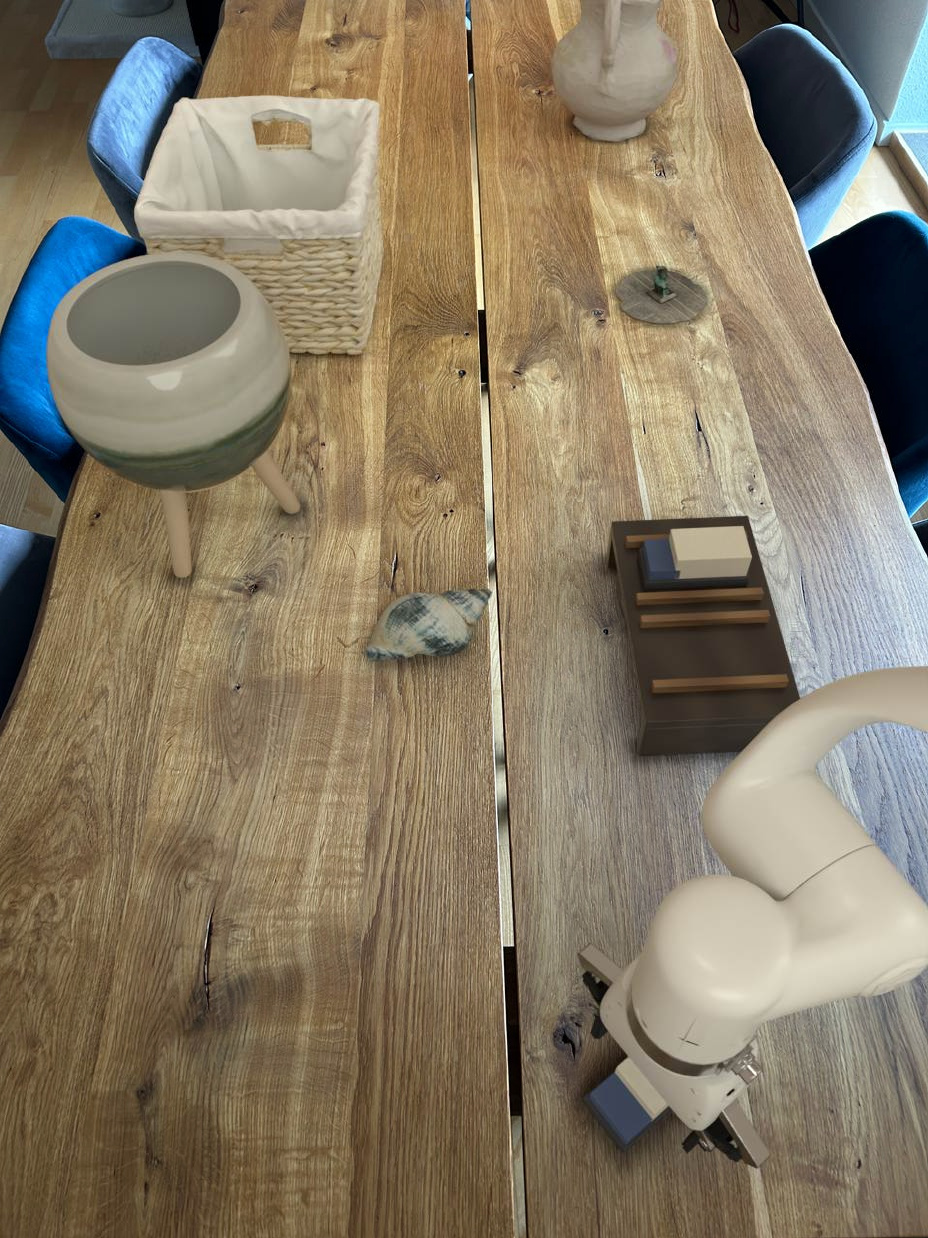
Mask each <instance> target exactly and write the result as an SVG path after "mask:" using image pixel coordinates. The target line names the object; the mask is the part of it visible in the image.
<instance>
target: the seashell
mask: <svg viewBox="0 0 928 1238" xmlns="http://www.w3.org/2000/svg"><path fill="white" fill-rule="evenodd" d="M492 594H493V591H492V590H490V589H489V588H485V589H484V588H482V589H477V588H468V589H466V590H464V589H458V590H456V589H452V590H446V591H443V592H442V593H440V594H437V593H433V592H413V593H407V594H404V595H401V596H399V597H397V598H395V599H394V600H393V601H392V602H391V603H389V604H388V606H387V607H386V608H385V609H384V610H383V612H382V614H381V615H380V617H379V618H378V620H377V622H376V624H375V626H374V628H373V630H372V632H371V637H370V643H369V645H367V647H365V649H364V651H365V656H366V658H367V659H368V660H369V661H371V662H375V663H376V662H380V661H385V660H387V659H388V660H405V659H408V658H412V657H414V656H415V655H417V654H420V655H426V656H431V657H438V658H444V657H451V656H454V655H457V654H459V653H460V652H462V651H463V650H464V649H466V647H467V646H468V644H469V643H470V641H471V638H472V636H473V632H474V627H475V624H476V623H478V622H479V621H480V619H481V618H482V617H483V614H484V612H485V608H486V607H487V605H488V603H489V599H490V598H491V596H492Z"/></svg>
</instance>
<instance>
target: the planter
mask: <svg viewBox="0 0 928 1238" xmlns="http://www.w3.org/2000/svg"><path fill="white" fill-rule="evenodd" d="M49 323H50V324H49V327H48V331H47V332H48V333H47V339H46V350H45V351H46V352H45V361H46V363H45V364H46V372H47V373H46V375H47V379H48V384H49V388H50V392H51V396H52V399H53V401H54V404H55V407H56V409H57V411H58V414H59V415H60V418H61V419H62V421H63V423H64V425H65V426H66V429H68V431H69V433H70V434H71V436H72V437H73V438H74V440H75V441H76V443H78V445H79V446H80V447H81V448H82V449H83V450H84V451H85V452H86V453H87V454H88V455H89V456H90V457H92V459H93V460H95V461H96V462H97V463H98V464H99V465H101V466H102V467H103V468H104V469H106V470H108V471H109V472H110V473H113V474H114V475H116V476H118V477H120V478H122V479H124V480H125V481H127V482H129V483H133V484H135V485H138V486H141V487H144V488H148V489H152V490H158V491H159V494H160V495H159V496H160V500H161V501H160V502H161V506H162V512H163V517H164V524H165V529H166V535H167V542H168V550H169V554H170V562H171V567H172V571H173V575H175V577H177V578H179V579H184V578H187V577H189V576H190V575H191V573H192V571H193V566H192V564H193V563H192V553H191V551H192V550H191V549H192V548H191V535H190V520H189V508H188V497H187V493H191V494H192V493H199V492H200V493H201V492H205V491H210V490H213V489H216V488H219V487H222V486H224V485H227V484H228V483H230V482H232V481H234V480H235V479H237V478H239V477H240V476H241V475H243V474H244V473H245V472H246V471H247V470H249V468H252V470H253V471H254V472H255V474H256V475H257V477H258V478H259V480H260V481H261V482H262V484H263V485H264V486H265V488H266V489H267V490H268V492H269V493H270V494H271V495H272V496H273V498H274V500H276V501H277V503H278V505H279V506H280V507H281V509H282V510H283V511H284V512H285V513H287V514H289V515H293V514H294V515H295V514H297V513H298V512H299V511H300V510H301V504H300V501H299V500H298V498H297V496H296V494H295V492H294V491H293V489H292V487H291V486H290V484H289V483H288V480H286V478H285V476H284V475H283V473H282V472H281V470H280V468H279V467H278V465H277V463H276V462H275V460H274V458H273V456H272V455H271V453H270V452H269V448H270V447H271V445H272V444H273V443H274V441H275V439H276V438H277V436H278V434H279V433H280V431H281V429H282V426H283V424H284V421H285V419H286V417H287V413H288V410H289V405H290V401H291V394H292V383H293V372H292V371H293V370H292V362H291V361H292V360H291V355H290V352H289V349H288V344H287V341H286V338H285V335H284V332H283V329H282V327H281V324H280V322H279V320H278V318H277V316H276V314H275V312H274V310H273V309H272V307H271V305H270V304H269V302H268V301H267V299H266V298H265V297H264V295H263V294H262V293H261V291H260V290H259V289H258V288H257V287H256V286H255V284H254V283H253V282H252V281H251V280H250V279H249V278H248V277H247V276H245V275H244V274H243V273H242V272H241V271H239V270H238V269H236V268H235V267H233V266H232V265H230V264H228V263H226V262H224V261H221V260H219V259H216V258H212V257H209V256H204V255H199V254H192V253H158V254H150V255H149V254H144V255H139V256H135V257H132V258H130V257H129V258H128V259H127V258H126V259H123V260H120V261H117V262H115V263H111V264H110V265H108V266H105V267H102V268H101V269H99V270H97V271H95V272H93V273H91V274H90V275H88V276H86V277H85V278H83V279H82V280H81V281H79V282H78V283H77V284H75V285H74V286H73V287H71V289H70V290H69V291H68V292H67V293H66V294H65V295H64V296H63V297H62V298H61V300H60V302H58V304H57V306H56V308H55V310H54V311H53V314H52V317H51V319H50V322H49Z"/></svg>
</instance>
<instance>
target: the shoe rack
mask: <svg viewBox="0 0 928 1238" xmlns="http://www.w3.org/2000/svg"><path fill="white" fill-rule="evenodd" d="M732 526H743V527H744V530H745V534H746V538H747V541H748V545H749V548H750V552H751V555H752V559H751V562H750V565H749V568H748V574H749V577H750V579H749V582H748V585H747V586H732V587H709V588H686V589H663V590H644V586H643V581H642V576H641V570H640V565H639V560H638V551H639V548H643V544H644V540H656V539H669V536H670V531H671V529H686V528H709V527H732ZM607 542H608V543H607V552H606V558H605V561H606V562H605V563H606V567H607V569H614V568H615V569H616V570H617V577H618V582H619V583H618V584H619V588H620V594H621V599H622V605H623V612H624V617H625V624H626V628H627V634H628V641H629V646H630V652H631V658H632V659H631V660H632V664H633V671H634V676H635V681H636V687H637V694H638V699H639V705H640V710H641V717H642V719H641V723H640V728H639V733H638V737H637V742H636V750H637V756H638V757H651V756H672V755H675V756H676V755H691V754H692V755H696V754H718V753H741V752H742V751H743V750H744V749H745V748H746V746H747V745H748V744H749V743H750V742H751V741H752V740H753V739H754V738H755V737H756V736H757V735H758V734H759V733H760V732H761V731H762V730H763V729H764V728H765V727H766V726H767V725H768V724H769V723H770V722H771V721H772V720H773V719H774V718H775V717H776V716H777V715H778V714H780V713H781V712H782V711H783V710H785V709H786V708H787V707H789V706H790V705H791V704H793V703H794V702H796V701H798V700H799V699H801V696H800V692H799V689H798V685H797V682H796V680H795V679H796V678H795V675H794V671H793V667H792V665H791V661H790V657H789V654H788V651H787V648H786V644H785V641H784V636H783V633H782V630H781V627H780V626H781V625H780V622H779V620H778V615H777V612H776V608H775V605H774V601H773V598H772V595H771V592H770V588H769V584H768V581H767V577H766V574H765V571H764V567H763V564H762V559H761V556H760V553H759V550H758V546H757V542H756V539H755V535H754V531H753V528H752V525H751V521H750V518H749V515H732V516H730V515H728V516H707V517H685V518H663V519H661V518H660V519H658V518H657V519H640V520H639V519H638V520H614V521H611V522H610V528H609V535H608V541H607Z"/></svg>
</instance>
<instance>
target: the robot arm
mask: <svg viewBox="0 0 928 1238" xmlns="http://www.w3.org/2000/svg"><path fill="white" fill-rule="evenodd" d="M881 723H889V724H896V725H901V726H905V727H909V728H912V729H915V730H917V731H919V732H923V733H926V734H928V665H915V666H914V665H913V666H895V667H885V668H878V669H872V670H868V671H862V672H858V673H855V674H851V675H848V676H844V677H841V678H839V679H836V680H834V681H832V682H829V683H827V684H824V685H822V686H821V687H819V688H817V689H814V690H813V691H811V692H809V693H807V694H805V695H804V696H802V697H800V699H799V700H798V701H796V702H794V703H793V704H791V705H790V706H789V707H787V708H786V709H785V710H783V711H782V712H781V713H780V714H778V715H777V716H776V717H775V718H774V719H773V720H772V721H771V722H770V723H769V724H768V725H767V726H766V727H765V728H764V729H763V730H762V731H761V732H760V733H759V734H758V735H757V736H756V737H755V738H754V739H753V740H752V741H751V742H750V743H749V744H748V745H747V746H746V748H745V749H744V750H743V751H742V752H739V753H738V755H736V757H735V758H734V759H733V760H732V761H731V762H730V763H729V764H728V766H726V768H724V770H723V771H722V772H721V774H720V775H719V776H718V777H717V778H716V780H715V781H714V783H713V784H712V785H711V786H710V788H709V790H708V791H707V793H706V795H705V797H704V800H703V802H702V806H701V815H700V816H701V826H702V829H703V832H704V835H705V837H706V839H707V841H708V844H709V845H710V846H711V847H712V849H713V850H714V852H715V854H716V855H717V857H718V858H719V859H720V861H721V862H722V863H723V865H724V867H725V868H726V869H727V871H728V873H730V875H728V874H724V873H723V874H722V873H718V874H717V873H712V874H709V873H708V874H704V875H699V876H695V877H692V878H690V879H687V880H684V881H683V882H681V883H680V884H679V885H677V886H675V887H674V888H673V889H671V890H670V891H669V893H667V894H666V896H665V897H664V899H663V900H662V901H661V903H660V904H659V906H658V908H657V910H656V912H655V914H654V916H653V917H652V920H651V924H650V927H649V930H648V933H647V935H646V938H645V940H644V943H643V946H642V949H641V952H640V953H639V954H638V955H636V957H635V958H634V959H632V961H631V962H630V963H629V964H628V965H627V966H626V967H625V968H622V967H620V965H618V964H617V963H616V962H615V961H613V959H611V958H610V957H609V956H608V955H606V954H605V953H604V952H603V951H602V950H601V949H600V948H598V947H597V946H596V945H595V944H593V942H589V943H588V944H586V945H585V946H584V947H583V948H582V949H580V950H579V951H578V952H576V953H577V954H576V955H577V959H578V961H579V963H580V967H581V969H582V970H583V971H584V972H583V974H582V975H581V977H582V982H583V984H584V985H585V987H587V989H588V991H589V993H590V995H591V997H592V999H591V1000H590V1001H588V1006H589V1008H590V1010H591V1011H592V1016H593V1017H594V1019H593V1022H592V1025H591V1029H590V1032H589V1033H590V1036H592V1038H593V1039H594V1040H595V1039H596V1040H598V1041H599V1040H600V1039H601V1038H602V1037H603V1036H604V1035H606V1034H607V1033H609V1034H610V1035H611V1037H612V1038H613V1039H614V1040H615V1042H616V1043H617V1044H618V1046H619V1047H620V1049H622V1050H623V1052H624V1053H625V1054H626V1055H627V1057H629V1058H630V1059H631V1060H632V1062H633V1063H634V1064H635V1065H636V1066H637V1068H638V1069H639V1070H640V1071H641V1073H642V1074H643V1075H644V1076H645V1077H646V1079H647V1080H648V1081H649V1082H650V1084H651V1085H652V1086H653V1087H654V1088H655V1090H656V1091H657V1092H658V1093H659V1095H660V1096H661V1097H662V1098H663V1099H664V1101H665V1102H666V1103H667V1104H668V1105H669V1107H670V1108H671V1109H672V1110H671V1111H672V1112H673V1113H674V1114H675V1115H676V1116H677V1117H678V1119H680V1120H681V1122H682V1123H683V1124H685V1126H686V1127H688V1128H689V1129H691V1130H692V1131H691V1132H690V1133H688V1135H687V1136H686V1137H685V1139H684V1140H683V1141H682V1142H681V1145H682V1147H681V1148H682V1149H683V1151H684V1152H685V1153H686V1155H688V1154H689V1153H690V1152H691V1151H693V1149H695V1148H696V1147H697V1146H699V1148H701V1149H702V1151H703V1152H704V1153H706V1152H708V1153H712V1152H713V1151H714V1150H715V1149H717V1150H719V1151H720V1152H721V1153H723V1154H724V1155H725V1156H726V1157H727V1159H728V1160H729V1161H733V1162H735V1163H739V1162H740V1161H742V1162H743V1163H744V1164H746V1165H747V1166H750V1167H751V1168H754V1169H756V1170H757V1169H759V1168H760V1167H761V1166H762V1165H763V1164H764V1163H766V1161H767V1160H768V1159H769V1158H771V1152H770V1150H769V1149H768V1147H767V1146H766V1144H765V1143H764V1141H763V1139H762V1138H761V1137H760V1135H759V1133H758V1132H757V1130H756V1128H755V1127H754V1125H753V1124H752V1123H751V1121H750V1119H749V1118H748V1116H747V1115H746V1113H745V1112H744V1110H743V1108H742V1107H741V1106H740V1104H739V1102H738V1101H739V1099H740V1098H741V1097H742V1096H743V1095H744V1093H745V1092H746V1091H747V1089H749V1086H750V1085H751V1083H752V1082H753V1081H754V1080H755V1079H756V1078H757V1077H758V1076H759V1075H760V1074H761V1073H762V1072H763V1071H764V1068H763V1067H762V1066H761V1065H760V1064H759V1062H758V1060H759V1046H758V1041H757V1039H756V1038H757V1037H758V1036H757V1035H756V1034H757V1032H758V1031H759V1030H760V1028H761V1027H762V1026H763V1024H764V1023H767V1022H770V1021H774V1020H776V1019H779V1018H782V1017H786V1016H788V1015H791V1014H796V1013H799V1012H803V1011H807V1010H809V1009H810V1010H811V1009H813V1008H817V1007H819V1006H820V1007H821V1006H822V1005H823V1006H825V1005H828V1004H830V1003H831V1004H832V1003H835V1002H839V1001H842V1000H846V999H850V998H853V997H857V996H860V997H861V998H862V997H863V998H872V997H876V996H880V995H883V994H887V993H889V992H891V991H894V990H896V989H899V988H900V987H902V986H904V985H906V984H908V983H909V982H910V981H913V980H914V979H915V978H916V977H918V976H919V975H920V974H921V973H922V972H924V970H926V968H927V967H928V905H927V903H926V902H925V900H923V898H922V897H921V896H920V894H918V892H917V890H915V888H913V885H911V883H909V881H908V880H907V878H905V877H904V875H903V874H902V873H901V872H900V871H899V869H898V868H897V867H896V866H895V865H894V863H893V862H892V861H891V860H890V859H889V858H888V857H887V855H886V854H885V852H883V851H882V849H881V848H880V847H879V845H878V844H877V843H876V842H875V840H874V839H873V838H872V837H871V836H870V835H869V833H868V832H867V831H866V830H865V829H864V828H863V826H862V824H860V822H859V821H858V820H857V819H856V818H855V817H854V815H853V814H852V813H851V812H850V811H849V809H848V808H847V807H846V806H845V805H844V804H843V802H842V801H841V799H839V798H838V797H837V795H836V794H835V793H834V791H833V790H832V789H831V788H830V786H829V785H828V784H827V783H826V782H825V781H824V779H822V777H821V776H820V775H819V774H818V773H817V767H818V765H819V764H820V762H822V760H823V759H824V758H825V757H826V756H827V755H828V754H829V753H830V752H831V751H832V750H833V749H834V748H835V747H836V746H837V745H838V744H839V743H841V742H842V741H843V740H844V739H846V738H847V737H848V736H850V735H851V734H853V733H855V732H856V731H858V730H860V729H863V728H864V727H867V726H871V725H873V724H881Z"/></svg>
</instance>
